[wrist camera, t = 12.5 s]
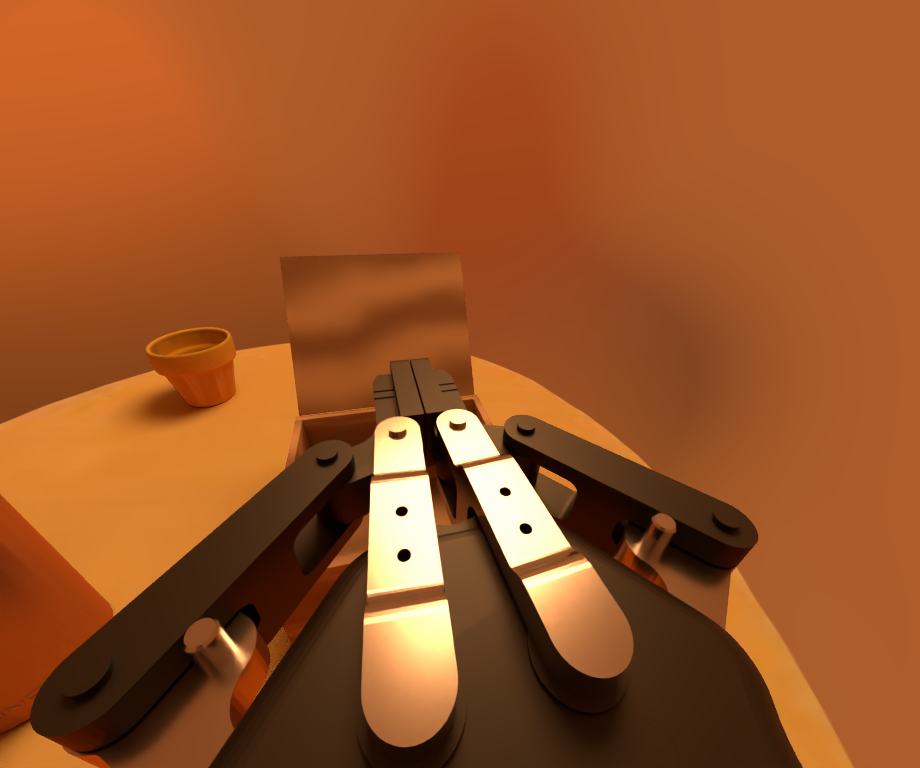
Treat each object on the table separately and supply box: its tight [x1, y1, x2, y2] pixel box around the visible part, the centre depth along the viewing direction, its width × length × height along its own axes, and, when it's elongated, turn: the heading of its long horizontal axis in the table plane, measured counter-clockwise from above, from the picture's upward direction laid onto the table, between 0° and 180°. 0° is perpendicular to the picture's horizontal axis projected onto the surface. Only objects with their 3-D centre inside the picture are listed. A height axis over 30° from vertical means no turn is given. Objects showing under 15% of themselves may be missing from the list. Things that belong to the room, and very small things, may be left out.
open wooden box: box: [283, 395, 493, 644], centre depth 32 cm, size 16×18×12 cm
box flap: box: [280, 252, 474, 416], centre depth 35 cm, size 15×17×1 cm
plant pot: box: [145, 327, 236, 407], centre depth 54 cm, size 10×10×10 cm
